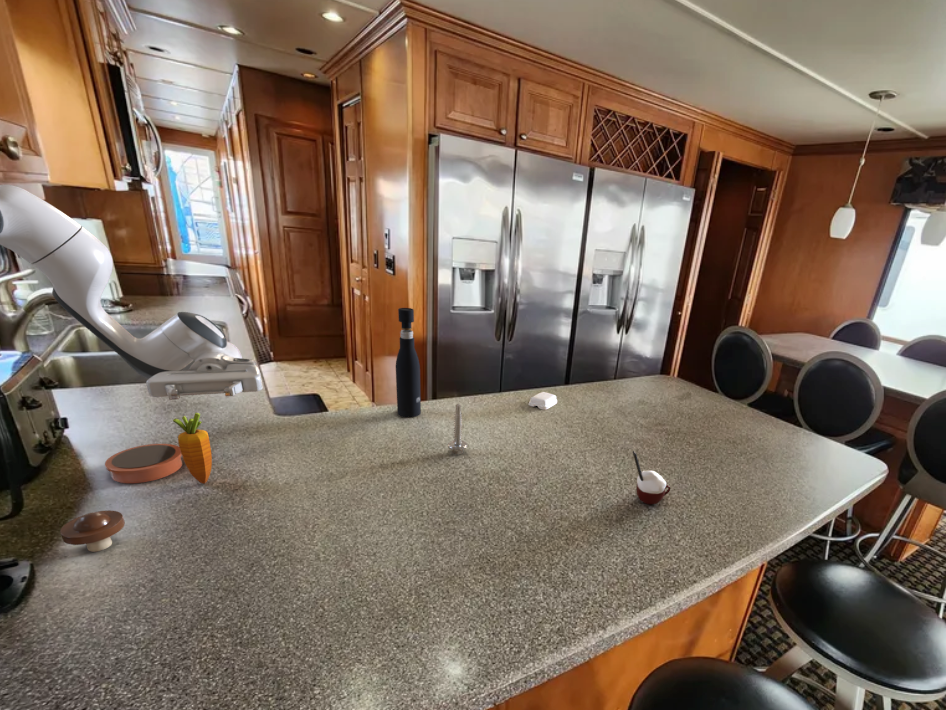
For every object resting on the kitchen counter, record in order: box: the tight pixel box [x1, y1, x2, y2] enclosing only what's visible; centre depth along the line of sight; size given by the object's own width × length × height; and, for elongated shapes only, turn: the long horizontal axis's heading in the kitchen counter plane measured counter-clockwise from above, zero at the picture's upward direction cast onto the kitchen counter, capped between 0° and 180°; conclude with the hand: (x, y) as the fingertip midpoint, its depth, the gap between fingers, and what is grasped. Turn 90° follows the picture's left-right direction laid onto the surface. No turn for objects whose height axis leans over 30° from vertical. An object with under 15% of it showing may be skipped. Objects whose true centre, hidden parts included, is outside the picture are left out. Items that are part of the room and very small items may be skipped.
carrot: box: [172, 412, 213, 485], centre depth 88 cm, size 5×5×15 cm
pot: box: [104, 443, 183, 484], centre depth 93 cm, size 12×12×3 cm
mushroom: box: [59, 510, 126, 553], centre depth 72 cm, size 7×7×6 cm
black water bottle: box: [395, 307, 422, 419], centre depth 127 cm, size 6×6×30 cm
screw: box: [447, 403, 469, 456], centre depth 111 cm, size 13×5×5 cm
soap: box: [528, 391, 558, 410], centre depth 149 cm, size 9×7×3 cm
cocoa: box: [632, 450, 671, 505], centre depth 99 cm, size 10×6×12 cm, turn 77°
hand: (201, 394), depth 95 cm, fingers open, 8 cm apart
